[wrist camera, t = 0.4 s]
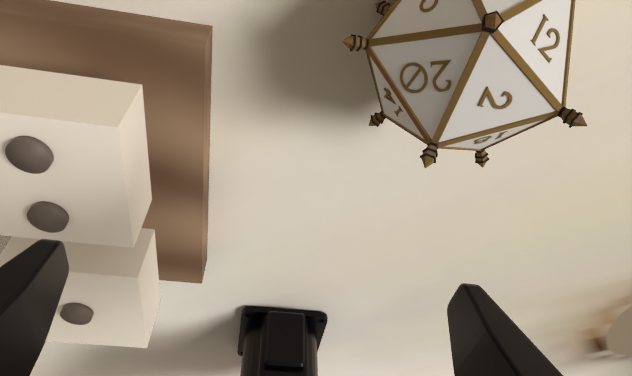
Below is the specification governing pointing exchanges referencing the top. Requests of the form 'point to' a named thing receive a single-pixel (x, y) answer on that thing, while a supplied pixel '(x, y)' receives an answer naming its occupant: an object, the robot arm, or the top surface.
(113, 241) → the tile two
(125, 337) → the tile one
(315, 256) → the top surface
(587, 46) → the top surface
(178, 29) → the brown flat slab
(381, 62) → the game die
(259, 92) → the top surface
